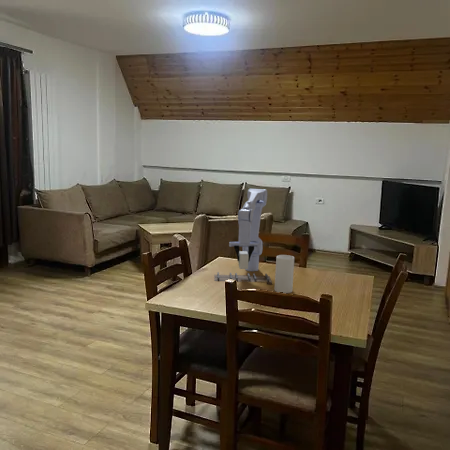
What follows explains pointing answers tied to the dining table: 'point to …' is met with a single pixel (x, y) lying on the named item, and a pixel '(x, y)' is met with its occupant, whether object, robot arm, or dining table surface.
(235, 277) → the notch rail
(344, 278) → the dining table surface
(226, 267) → the dining table surface
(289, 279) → the cup
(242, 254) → the white rectangular block
